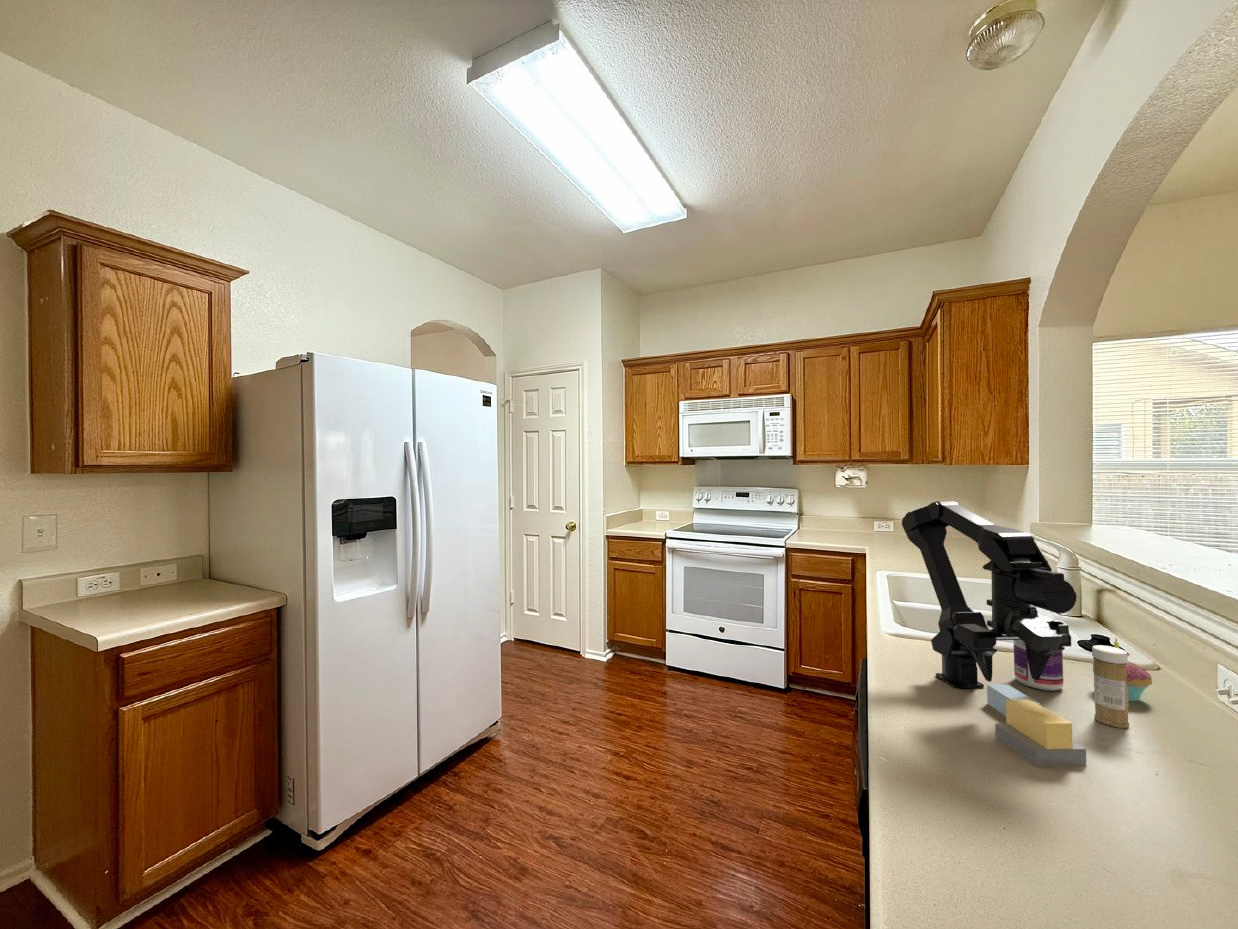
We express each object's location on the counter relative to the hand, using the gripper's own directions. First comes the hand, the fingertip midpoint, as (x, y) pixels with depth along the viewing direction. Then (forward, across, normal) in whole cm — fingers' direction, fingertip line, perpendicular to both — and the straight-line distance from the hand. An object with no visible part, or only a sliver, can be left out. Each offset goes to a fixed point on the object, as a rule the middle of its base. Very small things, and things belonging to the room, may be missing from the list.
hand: (1011, 680), depth 93 cm
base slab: (+7, -6, -12) cm, 15 cm away
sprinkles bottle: (+6, +15, -4) cm, 17 cm away
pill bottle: (+7, +16, +12) cm, 21 cm away
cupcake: (+6, +28, +6) cm, 29 cm away
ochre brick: (+4, -6, -12) cm, 14 cm away
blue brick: (+6, 0, 0) cm, 7 cm away
